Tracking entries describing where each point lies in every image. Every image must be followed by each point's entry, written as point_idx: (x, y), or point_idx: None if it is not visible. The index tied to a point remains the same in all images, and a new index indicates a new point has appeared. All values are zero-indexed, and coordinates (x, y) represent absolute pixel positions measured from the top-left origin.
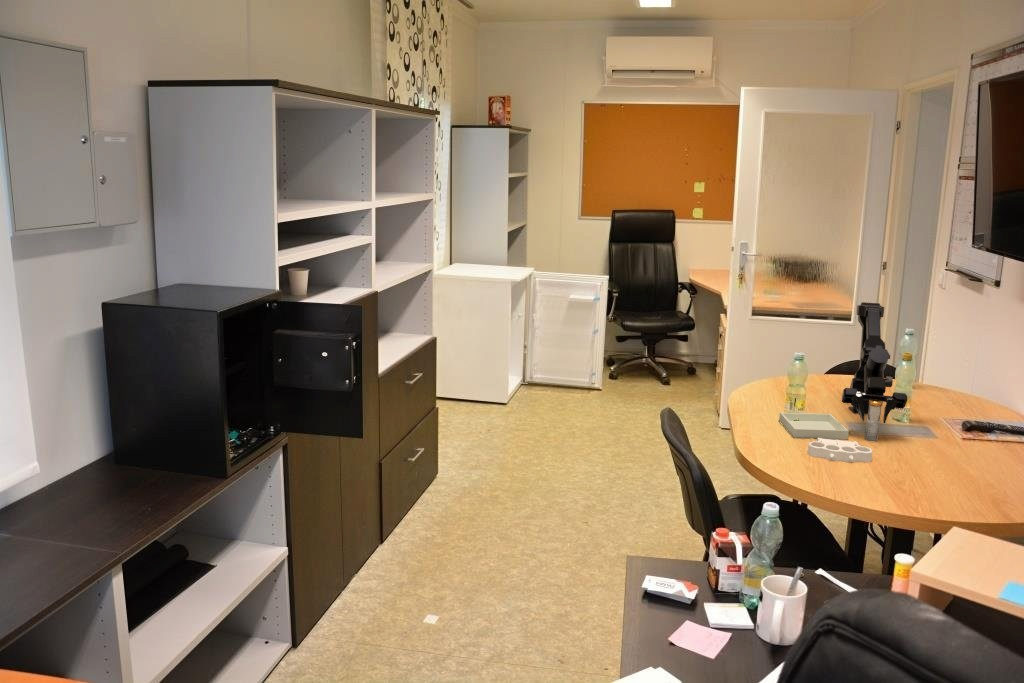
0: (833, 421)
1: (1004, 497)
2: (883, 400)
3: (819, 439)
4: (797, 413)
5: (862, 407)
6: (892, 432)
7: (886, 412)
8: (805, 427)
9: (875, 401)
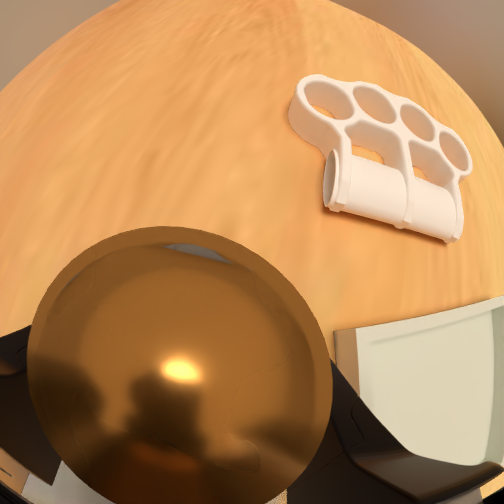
0: None
1: (94, 21)
2: (21, 498)
3: (459, 190)
4: None
5: (343, 411)
6: None
7: None
8: (456, 420)
9: (189, 336)
